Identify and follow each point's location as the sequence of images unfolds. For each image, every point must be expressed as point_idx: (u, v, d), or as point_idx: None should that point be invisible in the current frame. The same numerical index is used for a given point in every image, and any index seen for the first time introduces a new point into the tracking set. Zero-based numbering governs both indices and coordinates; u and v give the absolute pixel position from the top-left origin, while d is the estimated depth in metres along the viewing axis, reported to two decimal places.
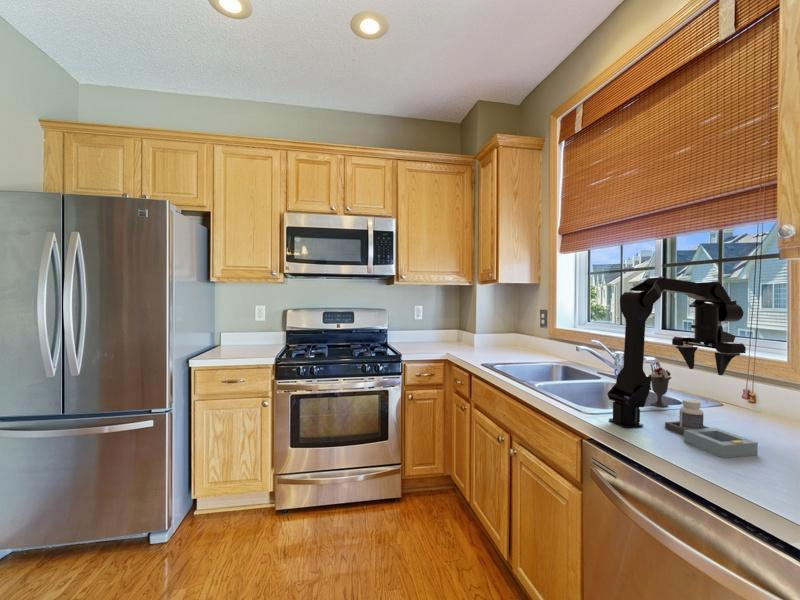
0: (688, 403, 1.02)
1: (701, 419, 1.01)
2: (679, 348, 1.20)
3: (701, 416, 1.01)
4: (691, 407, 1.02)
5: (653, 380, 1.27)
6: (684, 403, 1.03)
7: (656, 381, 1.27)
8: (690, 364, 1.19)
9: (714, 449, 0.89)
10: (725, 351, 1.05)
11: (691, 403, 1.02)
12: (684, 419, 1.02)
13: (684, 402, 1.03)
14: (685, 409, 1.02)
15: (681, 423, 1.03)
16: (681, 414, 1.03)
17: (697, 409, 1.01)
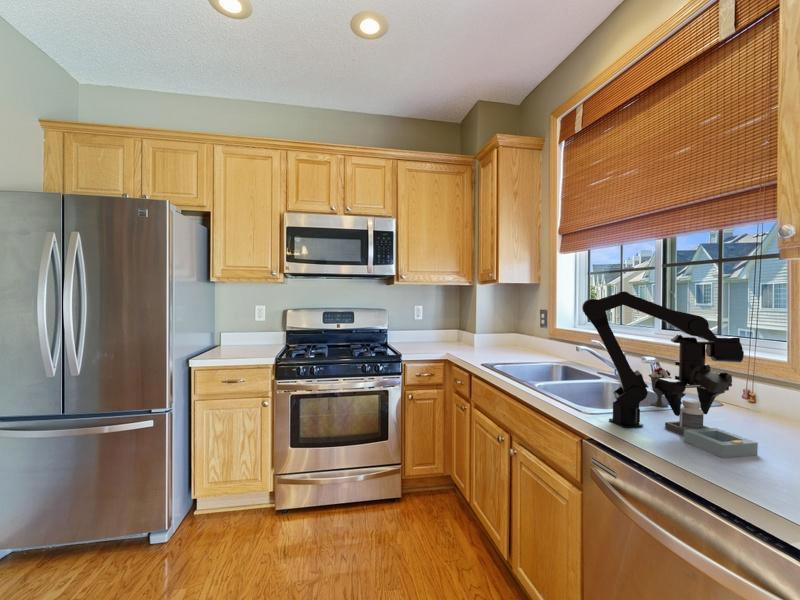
0: (688, 403, 1.02)
1: (701, 419, 1.01)
2: None
3: (701, 416, 1.01)
4: (691, 407, 1.02)
5: (653, 380, 1.27)
6: (684, 403, 1.03)
7: None
8: (702, 408, 1.04)
9: (714, 449, 0.89)
10: None
11: (691, 403, 1.02)
12: (684, 419, 1.02)
13: (684, 402, 1.03)
14: (685, 409, 1.02)
15: (681, 423, 1.03)
16: (681, 414, 1.03)
17: (697, 409, 1.01)
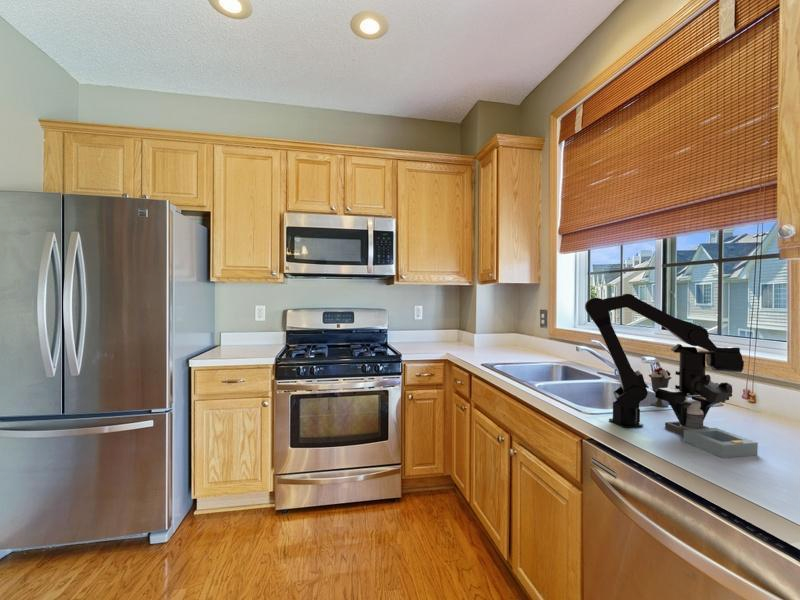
0: None
1: (701, 419, 1.01)
2: None
3: (701, 416, 1.01)
4: (691, 407, 1.02)
5: (653, 380, 1.27)
6: None
7: (656, 381, 1.27)
8: None
9: (714, 449, 0.89)
10: None
11: (691, 403, 1.02)
12: None
13: None
14: None
15: None
16: None
17: (697, 409, 1.01)
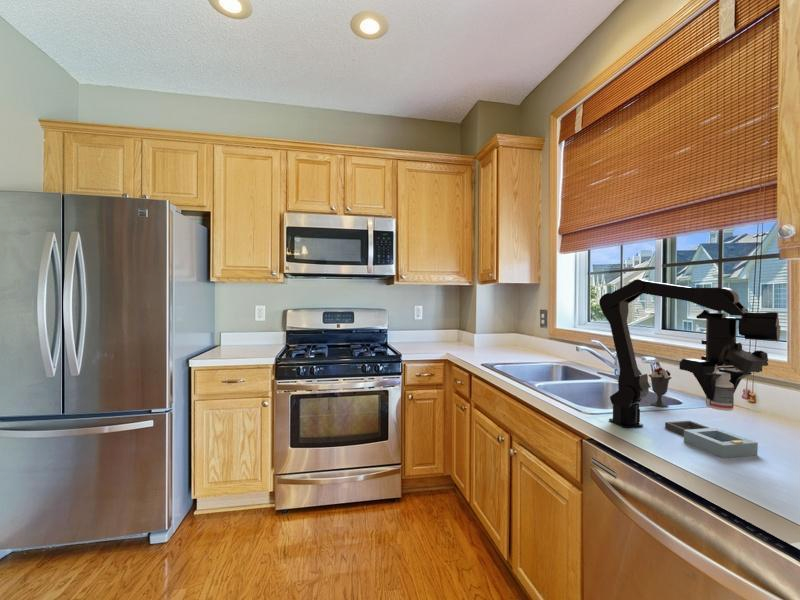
0: None
1: (731, 392, 0.90)
2: None
3: (731, 389, 0.90)
4: (720, 379, 0.91)
5: (653, 380, 1.27)
6: None
7: (656, 381, 1.27)
8: None
9: (714, 449, 0.89)
10: None
11: None
12: None
13: None
14: None
15: None
16: None
17: (727, 381, 0.91)
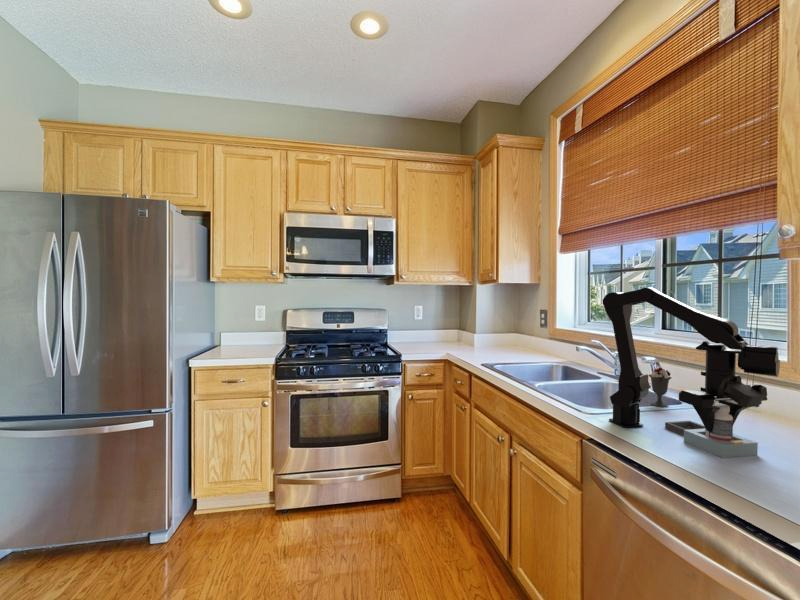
0: None
1: (731, 425, 0.90)
2: None
3: (731, 422, 0.90)
4: (720, 412, 0.91)
5: (653, 380, 1.27)
6: None
7: (656, 381, 1.27)
8: None
9: (714, 449, 0.89)
10: None
11: (719, 407, 0.91)
12: None
13: None
14: None
15: None
16: None
17: (726, 414, 0.91)
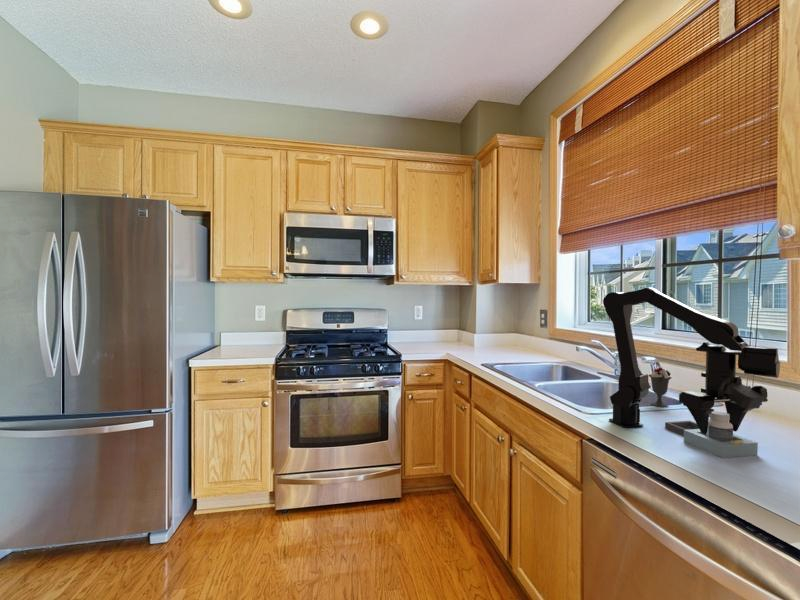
0: (716, 415, 0.92)
1: (731, 433, 0.90)
2: None
3: (731, 430, 0.90)
4: (720, 420, 0.91)
5: (653, 380, 1.27)
6: (711, 415, 0.93)
7: (656, 381, 1.27)
8: None
9: (714, 449, 0.89)
10: None
11: (719, 416, 0.91)
12: (711, 434, 0.92)
13: (711, 414, 0.93)
14: (712, 422, 0.92)
15: None
16: (708, 428, 0.93)
17: (726, 422, 0.91)
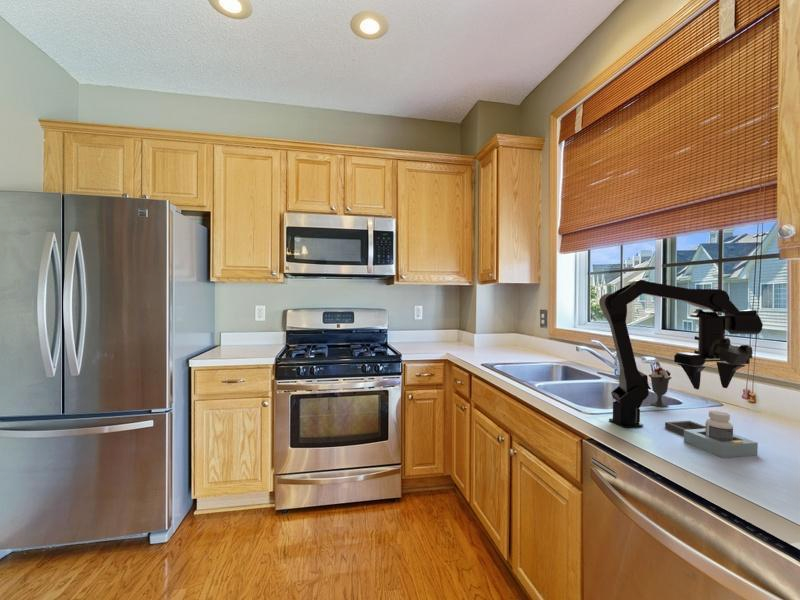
0: (716, 415, 0.92)
1: (731, 433, 0.90)
2: None
3: (731, 430, 0.90)
4: (720, 420, 0.91)
5: (653, 380, 1.27)
6: (711, 415, 0.93)
7: (656, 381, 1.27)
8: (722, 382, 1.05)
9: (714, 449, 0.89)
10: None
11: (719, 416, 0.91)
12: (711, 434, 0.92)
13: (711, 414, 0.93)
14: (712, 422, 0.92)
15: None
16: (708, 428, 0.93)
17: (726, 422, 0.91)
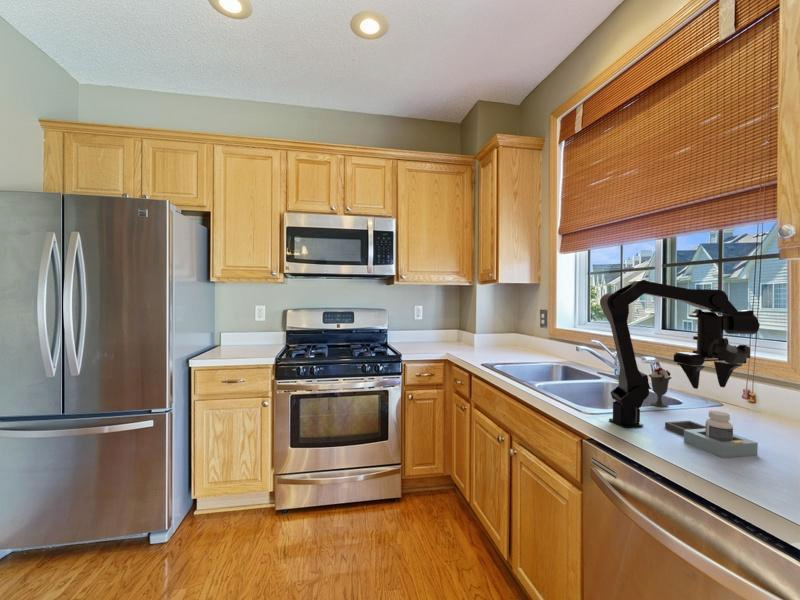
0: (716, 415, 0.92)
1: (731, 433, 0.90)
2: None
3: (731, 430, 0.90)
4: (720, 420, 0.91)
5: (653, 380, 1.27)
6: (711, 415, 0.93)
7: (656, 381, 1.27)
8: (719, 381, 1.06)
9: (714, 449, 0.89)
10: None
11: (719, 416, 0.91)
12: (711, 434, 0.92)
13: (711, 414, 0.93)
14: (712, 422, 0.92)
15: None
16: (708, 428, 0.93)
17: (726, 422, 0.91)
